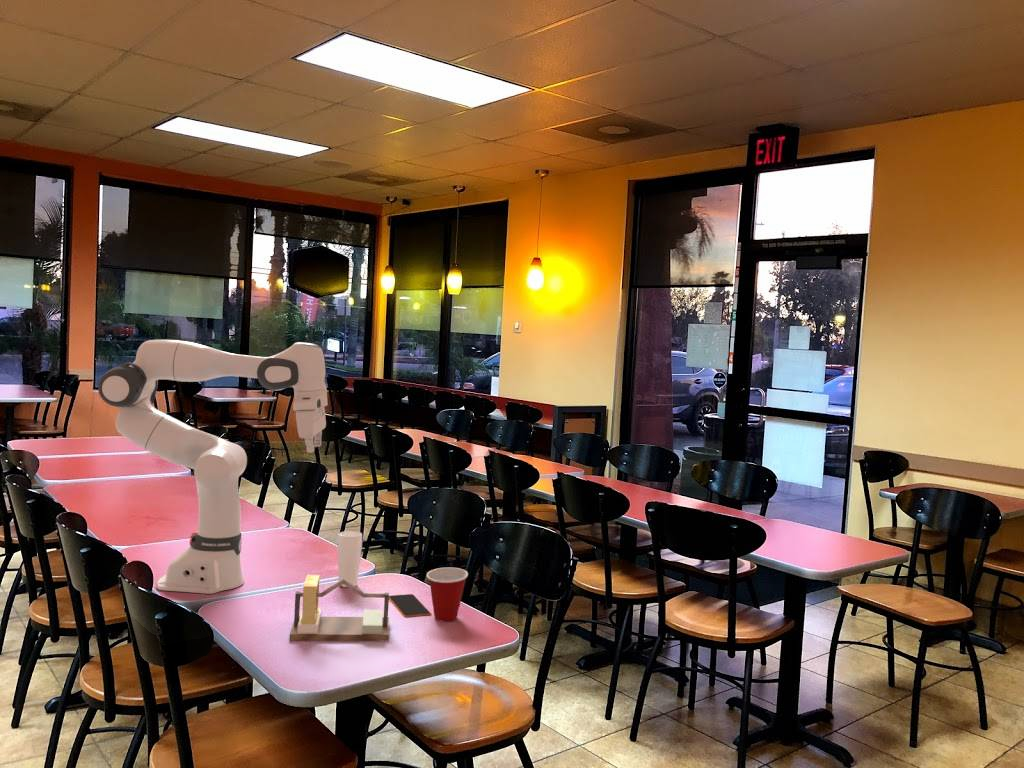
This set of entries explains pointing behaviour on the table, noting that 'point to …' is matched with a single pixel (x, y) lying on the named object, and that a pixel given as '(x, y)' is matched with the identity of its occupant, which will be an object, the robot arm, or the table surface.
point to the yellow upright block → (310, 600)
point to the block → (309, 626)
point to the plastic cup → (446, 591)
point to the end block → (372, 622)
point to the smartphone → (409, 605)
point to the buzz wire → (341, 621)
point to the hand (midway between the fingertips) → (314, 449)
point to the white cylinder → (349, 556)
